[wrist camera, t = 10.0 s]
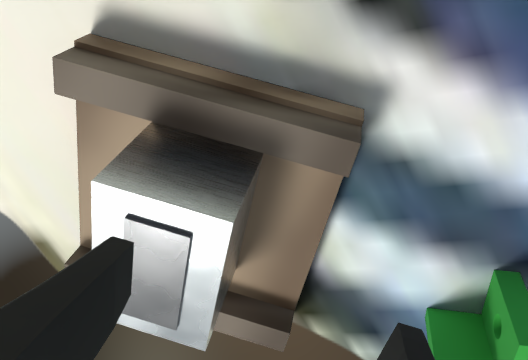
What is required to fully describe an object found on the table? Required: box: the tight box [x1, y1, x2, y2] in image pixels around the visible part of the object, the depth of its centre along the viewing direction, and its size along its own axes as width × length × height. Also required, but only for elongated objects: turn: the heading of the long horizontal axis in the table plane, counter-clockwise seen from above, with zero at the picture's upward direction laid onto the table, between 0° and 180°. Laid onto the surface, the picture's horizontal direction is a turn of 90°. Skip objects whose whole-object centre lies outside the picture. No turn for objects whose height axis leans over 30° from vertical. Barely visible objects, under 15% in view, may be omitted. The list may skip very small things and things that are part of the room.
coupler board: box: [52, 34, 364, 352], centre depth 21 cm, size 12×13×3 cm
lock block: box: [91, 122, 263, 351], centre depth 19 cm, size 5×7×5 cm
